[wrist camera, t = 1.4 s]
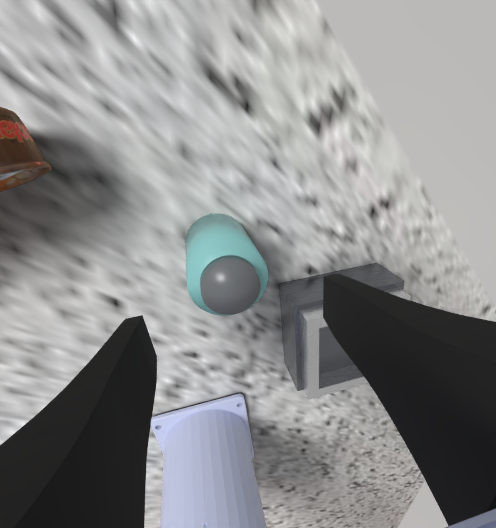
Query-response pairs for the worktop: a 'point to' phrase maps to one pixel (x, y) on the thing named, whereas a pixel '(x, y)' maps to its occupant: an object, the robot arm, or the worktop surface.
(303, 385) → the grey flat square block
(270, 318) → the worktop surface
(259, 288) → the teal capped cylinder
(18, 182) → the tin
